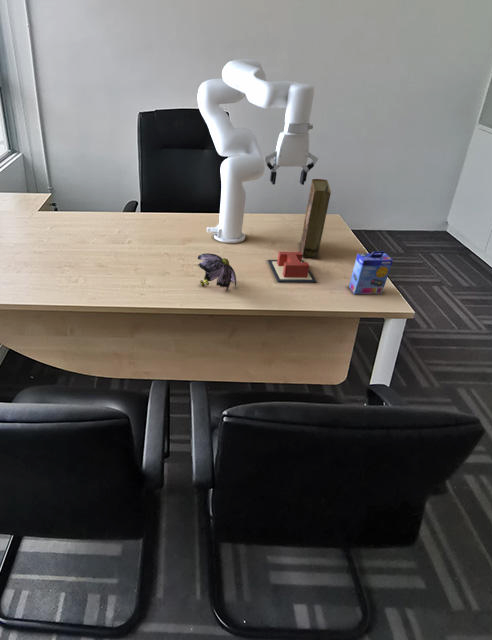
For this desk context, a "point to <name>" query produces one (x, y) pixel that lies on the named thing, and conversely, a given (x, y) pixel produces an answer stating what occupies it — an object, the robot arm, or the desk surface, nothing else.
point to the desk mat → (279, 276)
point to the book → (315, 217)
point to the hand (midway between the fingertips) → (287, 183)
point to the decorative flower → (216, 270)
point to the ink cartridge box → (370, 273)
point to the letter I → (292, 264)
